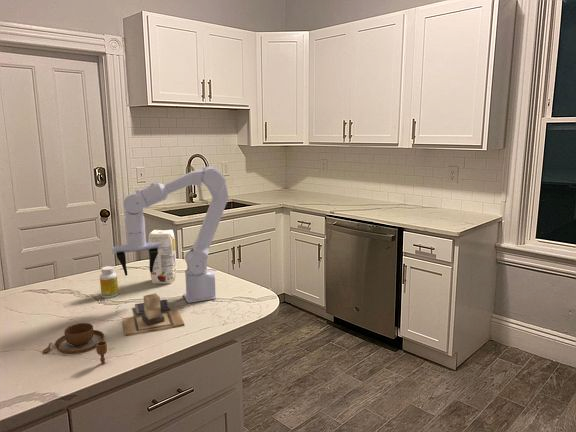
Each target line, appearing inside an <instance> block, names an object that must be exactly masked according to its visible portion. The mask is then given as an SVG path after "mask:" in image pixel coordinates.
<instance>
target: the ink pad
mask: <svg viewBox="0 0 576 432" xmlns="http://www.w3.org/2000/svg"><path fill="white" fill-rule="evenodd" d="M160 307H161V312H165V311H172V310H171V305H170V303H169V301H168V299H160ZM134 309H135V313H136V316H140V315H144V314H145V311H144V302H140V303H134Z"/></svg>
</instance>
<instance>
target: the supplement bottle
mask: <svg viewBox="0 0 576 432" xmlns="http://www.w3.org/2000/svg"><path fill="white" fill-rule="evenodd" d="M100 272H101V274H100V276H99V284H100V295H101V297H102V298H105V299H107V298H109V299H111V298H113V297H114V298H115V297H116V296H118V294H119V287H118V275H117V273H116V272H115V267H114V266H111V265H107V266H103V267H101V269H100Z"/></svg>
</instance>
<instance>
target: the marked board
mask: <svg viewBox="0 0 576 432" xmlns="http://www.w3.org/2000/svg"><path fill="white" fill-rule="evenodd" d="M161 314H162V315H163V316H164V320H165V322H161V323H157V324H153V325H149V326H147V325H146V324H145V323H144V321H143V320H142V315H140V316H137V315H134V316H129V317H127V316H126V317H123V318H122V320H123V325H124V332H125V337H127V336H132V335H140V334H145V333H149V332H155V331H162V330H166V329H167V330H168V329H173V328H178V327H185V322H184V320H183V318H182V316H181V313H180V311H179V309H172V310H171V311H165V312H161Z"/></svg>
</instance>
